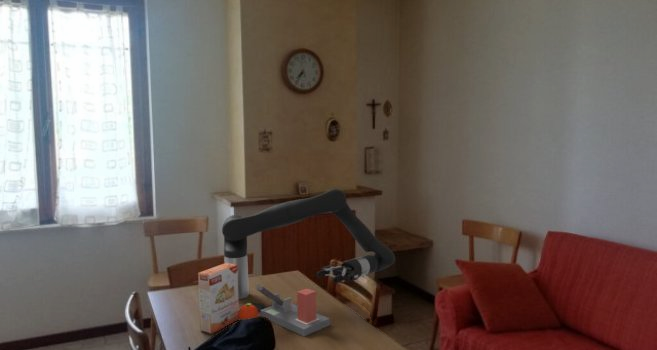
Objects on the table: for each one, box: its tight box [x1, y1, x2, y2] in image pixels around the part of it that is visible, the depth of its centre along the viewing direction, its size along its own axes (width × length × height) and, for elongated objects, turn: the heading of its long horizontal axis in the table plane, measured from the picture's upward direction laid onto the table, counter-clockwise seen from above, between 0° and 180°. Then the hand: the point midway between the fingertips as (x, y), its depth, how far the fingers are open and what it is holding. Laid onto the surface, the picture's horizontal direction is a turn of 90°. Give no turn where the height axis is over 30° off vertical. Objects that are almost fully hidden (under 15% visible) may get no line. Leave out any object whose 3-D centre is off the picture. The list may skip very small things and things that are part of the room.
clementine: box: [239, 302, 259, 321], centre depth 175 cm, size 8×7×7 cm
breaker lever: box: [255, 284, 283, 307], centre depth 177 cm, size 4×2×14 cm
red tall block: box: [296, 288, 317, 323], centre depth 171 cm, size 5×5×10 cm
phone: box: [250, 302, 266, 313], centre depth 185 cm, size 7×1×15 cm
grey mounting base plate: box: [259, 292, 331, 337], centre depth 176 cm, size 24×12×8 cm, turn 45°
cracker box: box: [197, 262, 240, 335], centre depth 173 cm, size 14×6×21 cm, turn 148°
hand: (325, 277), depth 179 cm, fingers open, 8 cm apart
